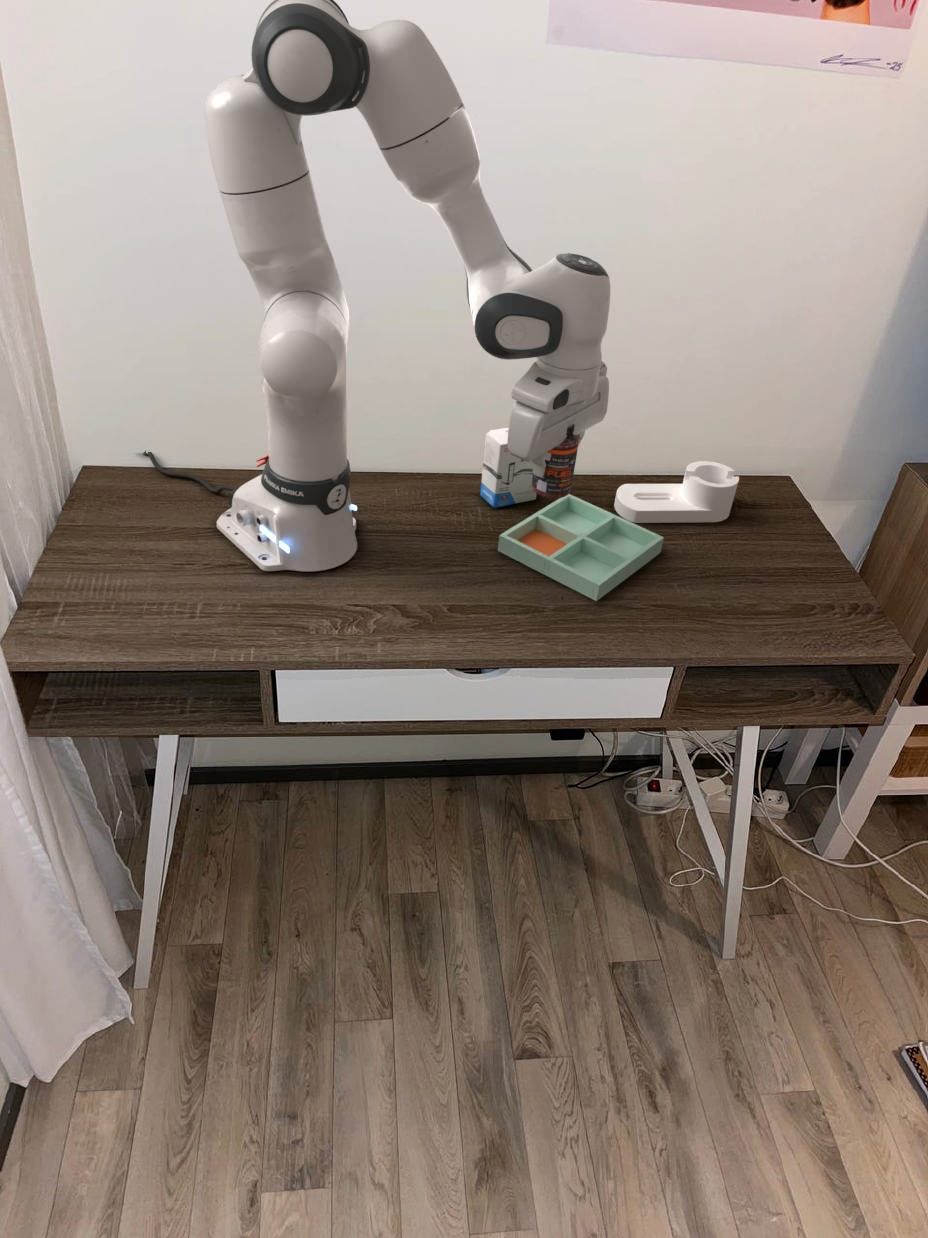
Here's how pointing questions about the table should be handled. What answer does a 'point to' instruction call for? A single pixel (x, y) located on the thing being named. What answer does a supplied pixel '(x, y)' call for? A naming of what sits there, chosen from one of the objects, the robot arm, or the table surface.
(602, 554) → the organiser
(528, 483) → the ink box
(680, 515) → the bracket
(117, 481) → the table surface
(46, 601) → the table surface
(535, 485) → the supplement bottle
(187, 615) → the table surface
